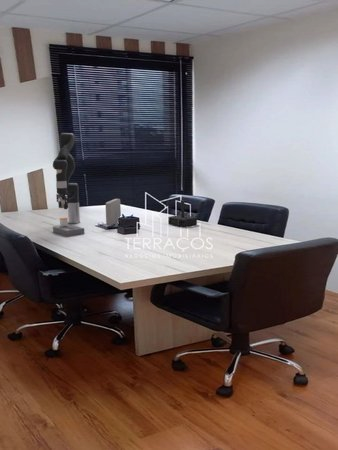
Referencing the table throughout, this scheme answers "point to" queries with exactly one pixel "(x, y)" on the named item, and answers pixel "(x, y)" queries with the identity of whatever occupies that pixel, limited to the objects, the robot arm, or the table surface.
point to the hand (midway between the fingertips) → (62, 208)
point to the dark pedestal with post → (182, 218)
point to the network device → (113, 211)
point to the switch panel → (68, 230)
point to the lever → (63, 221)
